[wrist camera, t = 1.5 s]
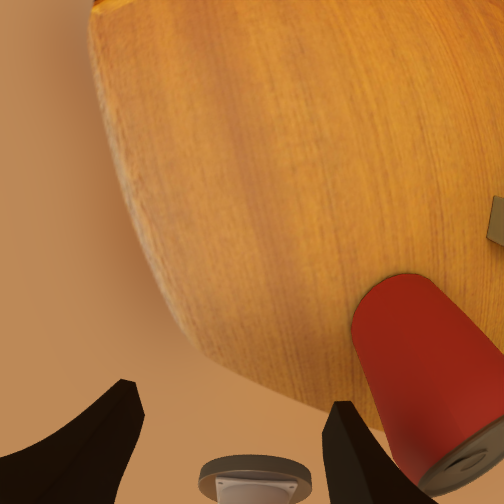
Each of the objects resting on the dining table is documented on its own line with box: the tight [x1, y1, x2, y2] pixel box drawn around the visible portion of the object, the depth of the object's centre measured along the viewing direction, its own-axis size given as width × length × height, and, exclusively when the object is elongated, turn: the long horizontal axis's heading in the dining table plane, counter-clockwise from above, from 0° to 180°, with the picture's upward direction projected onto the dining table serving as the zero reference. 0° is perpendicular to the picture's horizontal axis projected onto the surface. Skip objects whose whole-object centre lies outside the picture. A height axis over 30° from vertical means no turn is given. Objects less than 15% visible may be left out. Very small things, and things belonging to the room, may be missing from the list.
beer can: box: [351, 274, 504, 498], centre depth 12 cm, size 7×7×12 cm
